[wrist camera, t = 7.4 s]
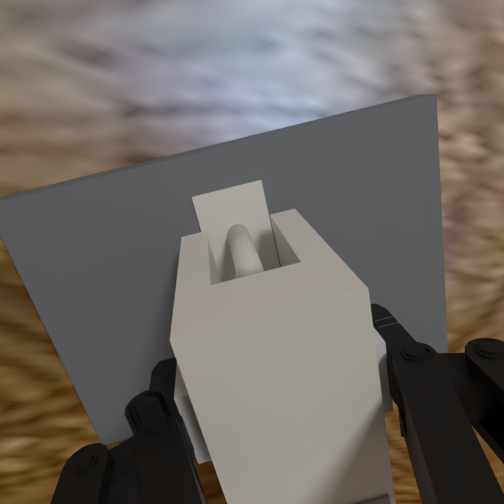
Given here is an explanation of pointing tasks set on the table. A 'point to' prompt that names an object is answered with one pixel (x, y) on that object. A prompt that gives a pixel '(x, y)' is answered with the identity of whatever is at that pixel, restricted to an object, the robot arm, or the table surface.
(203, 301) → the housing
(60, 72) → the table surface
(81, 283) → the board
